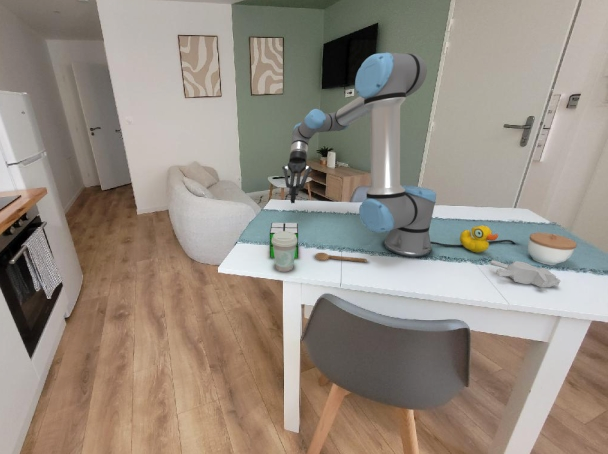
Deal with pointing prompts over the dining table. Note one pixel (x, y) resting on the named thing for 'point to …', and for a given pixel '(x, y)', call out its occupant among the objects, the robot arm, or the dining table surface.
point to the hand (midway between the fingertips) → (292, 201)
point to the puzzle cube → (283, 227)
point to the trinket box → (550, 248)
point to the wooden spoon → (337, 257)
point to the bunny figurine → (527, 274)
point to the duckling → (477, 238)
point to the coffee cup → (284, 250)
